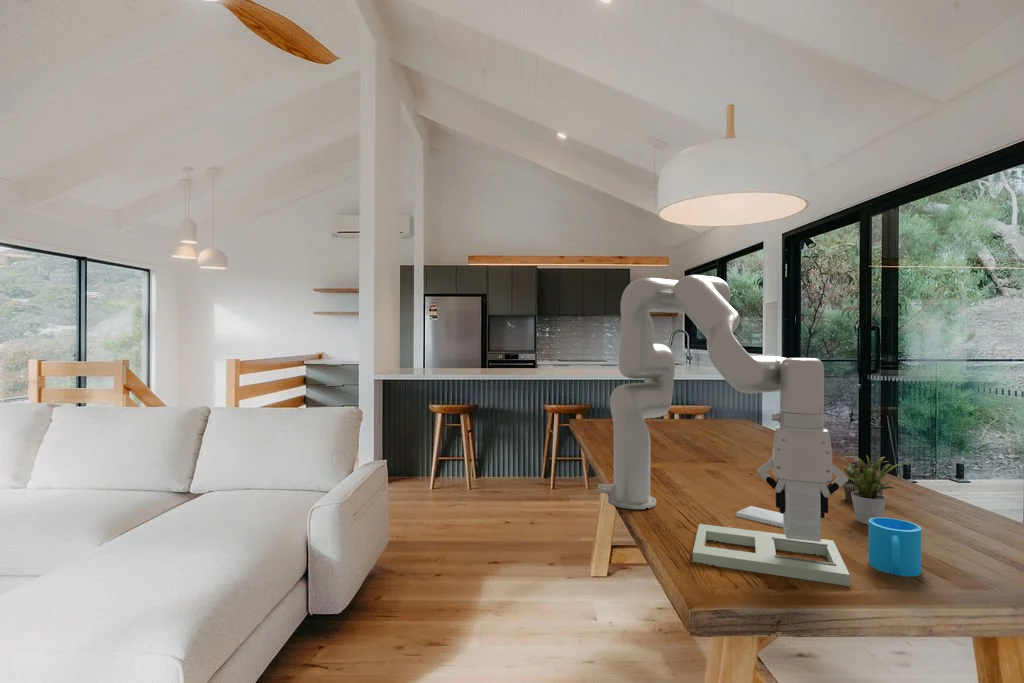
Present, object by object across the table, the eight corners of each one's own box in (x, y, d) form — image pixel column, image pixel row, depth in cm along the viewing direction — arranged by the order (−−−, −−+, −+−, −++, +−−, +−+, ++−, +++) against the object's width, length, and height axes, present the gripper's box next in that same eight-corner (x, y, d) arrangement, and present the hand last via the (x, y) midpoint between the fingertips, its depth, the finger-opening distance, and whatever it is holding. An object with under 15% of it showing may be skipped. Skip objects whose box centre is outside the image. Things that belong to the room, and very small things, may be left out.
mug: (868, 555, 108) (868, 514, 108) (919, 565, 103) (919, 522, 103) (868, 577, 98) (868, 532, 98) (925, 588, 93) (925, 541, 93)
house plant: (903, 517, 132) (903, 450, 132) (918, 535, 120) (918, 461, 120) (836, 509, 138) (835, 445, 138) (843, 525, 126) (843, 455, 126)
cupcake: (888, 507, 140) (888, 469, 140) (845, 503, 143) (845, 466, 143) (879, 498, 149) (879, 461, 149) (838, 494, 152) (838, 459, 152)
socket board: (692, 562, 104) (692, 551, 104) (699, 532, 121) (699, 522, 121) (849, 586, 94) (849, 573, 94) (833, 550, 110) (833, 539, 110)
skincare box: (816, 535, 106) (816, 474, 106) (821, 542, 102) (821, 479, 102) (782, 531, 108) (782, 471, 108) (785, 538, 104) (785, 476, 104)
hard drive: (735, 511, 133) (788, 524, 123) (751, 505, 138) (802, 516, 129) (735, 518, 133) (788, 531, 123) (751, 511, 138) (803, 523, 129)
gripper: (753, 421, 105) (753, 513, 105) (857, 426, 98) (857, 525, 98) (752, 416, 112) (752, 503, 112) (849, 421, 105) (849, 513, 105)
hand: (801, 513), depth 105 cm, fingers closed on skincare box, 6 cm apart
